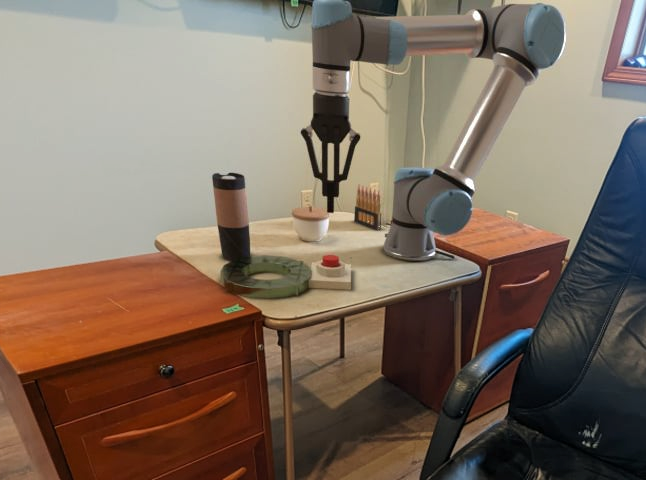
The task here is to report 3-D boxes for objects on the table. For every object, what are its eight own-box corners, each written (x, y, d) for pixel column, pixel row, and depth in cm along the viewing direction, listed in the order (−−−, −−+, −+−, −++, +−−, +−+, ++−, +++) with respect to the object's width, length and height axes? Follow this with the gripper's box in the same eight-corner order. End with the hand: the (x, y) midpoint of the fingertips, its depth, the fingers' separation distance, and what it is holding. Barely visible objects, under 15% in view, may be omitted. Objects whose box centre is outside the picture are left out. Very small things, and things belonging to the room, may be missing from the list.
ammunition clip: (353, 221, 171) (355, 183, 164) (357, 221, 172) (359, 183, 165) (377, 230, 166) (379, 191, 159) (380, 229, 167) (383, 190, 160)
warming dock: (314, 267, 134) (314, 258, 133) (308, 300, 118) (307, 290, 116) (231, 262, 132) (230, 253, 130) (213, 295, 115) (211, 285, 113)
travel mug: (243, 263, 132) (235, 181, 121) (215, 258, 133) (205, 176, 121) (256, 254, 138) (250, 175, 127) (230, 250, 139) (221, 170, 128)
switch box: (350, 271, 134) (351, 256, 132) (350, 290, 125) (350, 274, 122) (312, 269, 133) (311, 254, 131) (308, 287, 123) (308, 271, 121)
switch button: (339, 263, 129) (339, 255, 128) (338, 269, 126) (338, 260, 124) (322, 262, 128) (322, 254, 127) (322, 268, 125) (322, 259, 124)
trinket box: (299, 245, 147) (298, 212, 142) (288, 234, 155) (286, 201, 149) (334, 243, 152) (335, 210, 146) (321, 231, 159) (321, 200, 154)
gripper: (297, 91, 102) (300, 213, 116) (363, 98, 104) (358, 217, 117) (300, 88, 108) (303, 204, 122) (362, 95, 110) (358, 209, 123)
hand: (330, 211), depth 119 cm, fingers closed
